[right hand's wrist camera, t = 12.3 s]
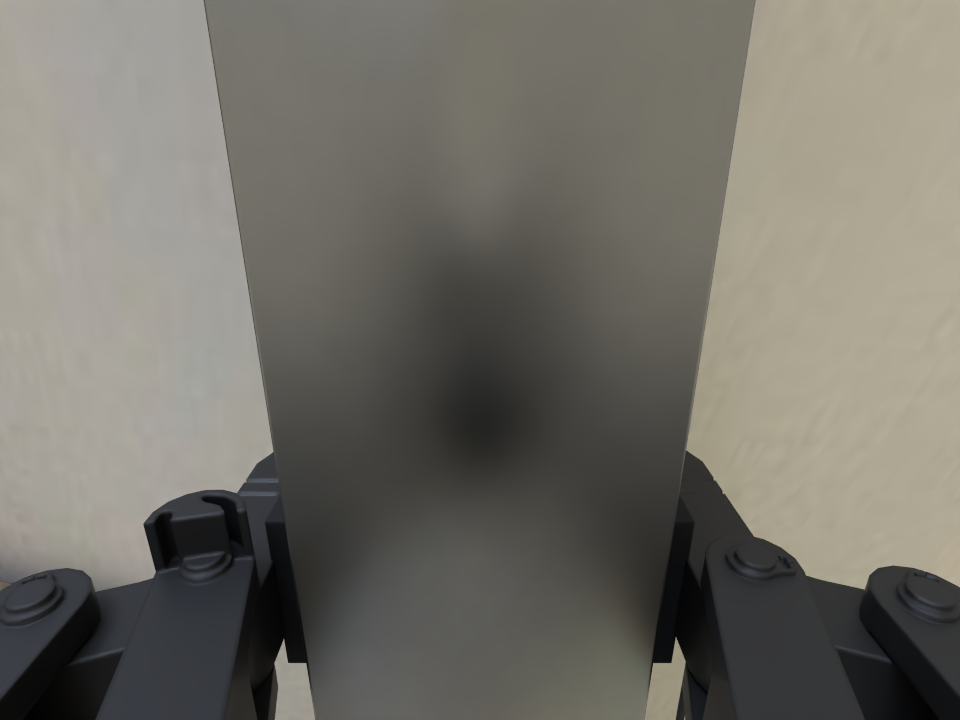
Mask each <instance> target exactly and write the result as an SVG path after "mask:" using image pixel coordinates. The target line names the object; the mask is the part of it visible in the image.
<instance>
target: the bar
mask: <svg viewBox="0 0 960 720" xmlns="http://www.w3.org/2000/svg"><path fill="white" fill-rule="evenodd" d="M204 5H205V12H206V18H207V24H208V31H209V37H210V44H211V50H212V57H213V63H214V70H215V76H216V83H217V89H218V95H219V102H220V108H221V115H222V121H223V128H224V134H225V141H226V147H227V153H228V160H229V166H230V173H231V179H232V186H233V192H234V199H235V205H236V212H237V218H238V224H239V231H240V237H241V244H242V250H243V257H244V263H245V270H246V276H247V282H248V289H249V295H250V302H251V308H252V315H253V321H254V328H255V334H256V341H257V347H258V353H259V360H260V366H261V373H262V379H263V386H264V392H265V399H266V405H267V412H268V418H269V424H270V431H271V437H272V444H273V450H274V457H275V463H276V470H277V476H278V482H279V489H280V495H281V502H282V508H283V515H284V521H285V528H286V534H287V541H288V547H289V553H290V560H291V566H292V573H293V579H294V586H295V592H296V599H297V605H298V611H299V618H300V624H301V631H302V637H303V644H304V650H305V657H306V663H307V670H308V676H309V682H310V689H311V695H312V702H313V708H314V715H315V720H644V719H645V712H646V706H647V699H648V693H649V686H650V680H651V673H652V667H653V660H654V654H655V647H656V641H657V634H658V628H659V621H660V615H661V608H662V602H663V595H664V589H665V583H666V576H667V570H668V563H669V557H670V550H671V544H672V537H673V531H674V524H675V518H676V511H677V505H678V498H679V492H680V485H681V479H682V472H683V466H684V459H685V453H686V446H687V440H688V433H689V427H690V420H691V414H692V408H693V401H694V395H695V388H696V382H697V375H698V369H699V362H700V356H701V349H702V343H703V336H704V330H705V323H706V317H707V310H708V304H709V297H710V291H711V284H712V278H713V271H714V265H715V258H716V252H717V246H718V239H719V233H720V226H721V220H722V213H723V207H724V200H725V194H726V187H727V181H728V174H729V168H730V161H731V155H732V148H733V142H734V135H735V129H736V122H737V116H738V109H739V103H740V96H741V90H742V83H743V77H744V71H745V64H746V58H747V51H748V45H749V38H750V32H751V25H752V19H753V12H754V6H755V0H204Z"/></svg>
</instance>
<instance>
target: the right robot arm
mask: <svg viewBox="0 0 960 720" xmlns="http://www.w3.org/2000/svg"><path fill="white" fill-rule="evenodd" d="M144 528H145V532H146V536H147V539H148V543H149V547H150V551H151V555H152V559H153V562H154V566H155V570H156V573H155V576H154V578H153V579H149V580H146V581H142V582H139V583H134V584H130V585H125V586H121V587H116V588H112V589H107V590H103V591H98V592H95V590H94V586H93V583H92V580H91V578H90V577H89V576H88V575H87V574H86V573H84V572H83V571H81V570H75V569H69V568H64V569H56V570H48V571H44V572H41V573H37V574H35V575H31V576H28V577H25V578H23V579H21V580H19V581H17V582H15V583H13V584H11V585H9V586H7V587H5V588H3V589H2V590H0V720H275V711H276V701H277V692H278V683H277V676H276V670H275V665H274V662H275V660H276V657H277V655H278V652H279V650H280V647H281V645H282V642H283V639H284V640H285V646H286V652H287V658H288V663H306V657H305V650H304V644H303V637H302V631H301V624H300V618H299V611H298V605H297V599H296V592H295V586H294V579H293V573H292V566H291V560H290V553H289V547H288V541H287V534H286V528H285V521H284V515H283V508H282V502H281V495H280V489H279V482H278V476H277V470H276V463H275V457H274V452H273V453H272V454H270V455H269V456H267V457H266V458H265V459H263V460H262V461H260V462H259V463H257V465H256V466H255V468H254V469H253V471H252V472H251V474H250V475H249V477H248V478H247V481H246V483H244V484H243V485H242V487H241V488H240V490H239V491H238V494H237V493H233V492H230V491H226V490H204V491H200V492H195V493H191V494H186V495H184V496H181V497H179V498H177V499H174V500H172V501H169V502H167V503H166V504H164V505H163V506H161V507H160V508H159V509H157V510H156V511H154V512H153V513H152V514H151V515H150V516H149V518H148V519H147V520H146V521H145V523H144ZM675 638H677V640H678V643H679V645H680V648H681V650H682V653H683V655H684V658H685V661H686V665H685V670H684V676H683V681H682V687H681V692H680V698H679V703H678V709H677V716H676V720H684V716H685V719H686V720H960V587H958V586H956V585H954V584H952V583H950V582H948V581H946V580H944V579H942V578H940V577H938V576H936V575H934V574H931V573H928V572H924V571H922V570H918V569H915V568H909V567H900V566H888V567H882V568H878V569H876V570H875V571H874V572H873V573H872V574H871V575H869V578H868V582H867V585H866V588H865V590H864V589H859V588H855V587H850V586H845V585H841V584H836V583H832V582H827V581H823V580H819V579H816V578H812V577H809V576H806V575H805V572H804V570H803V569H802V568H801V566H800V565H799V563H798V562H797V560H796V559H795V558H794V557H792V556H791V555H790V554H789V553H787V552H786V551H785V550H783V549H782V548H781V547H779V546H777V545H774V544H772V543H770V542H768V541H766V540H764V539H760V538H756V537H754V536H753V535H752V533H751V532H750V530H749V529H748V527H747V526H746V524H745V523H744V522H743V520H742V519H741V517H740V516H739V514H738V513H737V511H736V510H735V508H734V507H733V505H732V504H731V503H730V501H729V500H728V498H727V497H726V495H725V494H723V493H722V489H721V488H720V487H719V485H718V484H717V482H716V481H714V480H713V476H712V475H711V473H710V472H709V470H708V469H707V468H706V466H705V465H704V463H703V462H702V461H701V460H699V459H698V458H696V457H695V456H694V455H692V454H691V453H689V452H688V451H686V453H685V459H684V466H683V472H682V479H681V485H680V492H679V498H678V505H677V511H676V518H675V524H674V531H673V537H672V544H671V550H670V557H669V563H668V570H667V576H666V583H665V589H664V595H663V602H662V608H661V615H660V621H659V628H658V634H657V641H656V647H655V654H654V660H653V663H671V662H672V656H673V650H674V644H675Z"/></svg>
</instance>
